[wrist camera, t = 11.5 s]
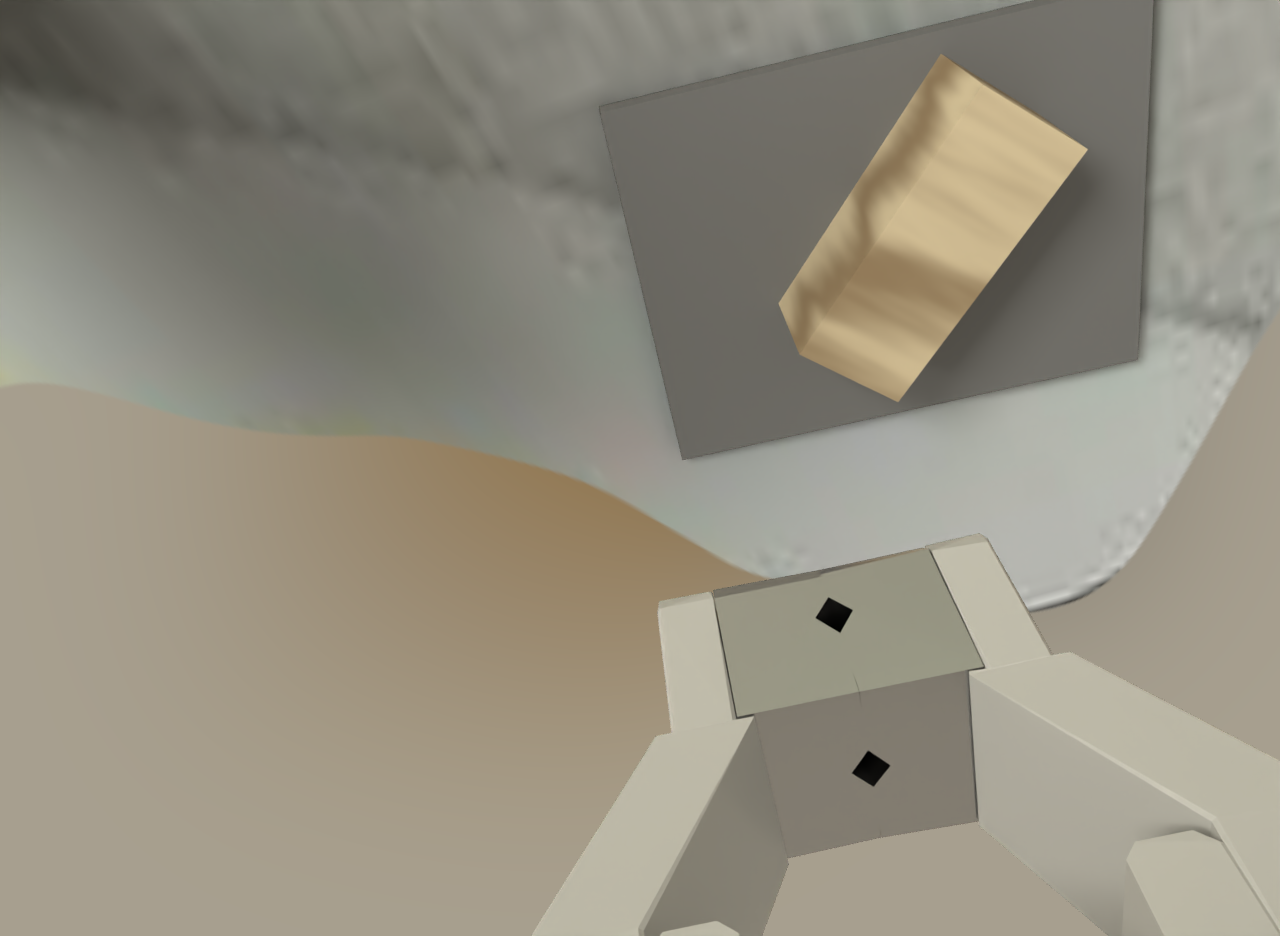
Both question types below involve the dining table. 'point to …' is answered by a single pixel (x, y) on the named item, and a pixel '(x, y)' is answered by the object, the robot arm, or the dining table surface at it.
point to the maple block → (925, 229)
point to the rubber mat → (823, 179)
